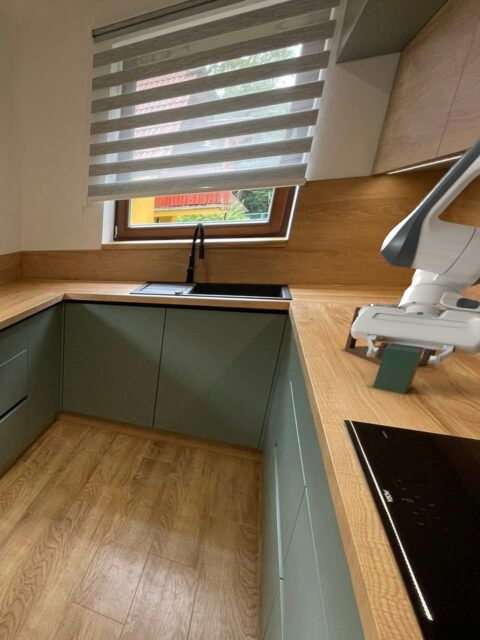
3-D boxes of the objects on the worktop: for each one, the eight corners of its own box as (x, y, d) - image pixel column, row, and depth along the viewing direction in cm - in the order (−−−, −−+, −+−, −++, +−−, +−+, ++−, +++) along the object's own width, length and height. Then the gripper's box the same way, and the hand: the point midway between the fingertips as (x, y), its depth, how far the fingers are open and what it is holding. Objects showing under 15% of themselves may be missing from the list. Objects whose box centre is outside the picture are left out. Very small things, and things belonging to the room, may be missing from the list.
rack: (384, 349, 115) (397, 305, 111) (431, 366, 102) (448, 316, 98) (344, 350, 117) (355, 306, 112) (385, 366, 104) (400, 318, 99)
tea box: (379, 382, 95) (391, 343, 92) (410, 388, 91) (424, 347, 88) (372, 387, 92) (385, 347, 89) (404, 394, 88) (418, 352, 85)
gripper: (363, 294, 98) (338, 343, 96) (500, 304, 82) (473, 363, 81) (364, 310, 102) (339, 357, 100) (495, 323, 86) (468, 379, 85)
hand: (400, 360), depth 90 cm, fingers open, 8 cm apart
